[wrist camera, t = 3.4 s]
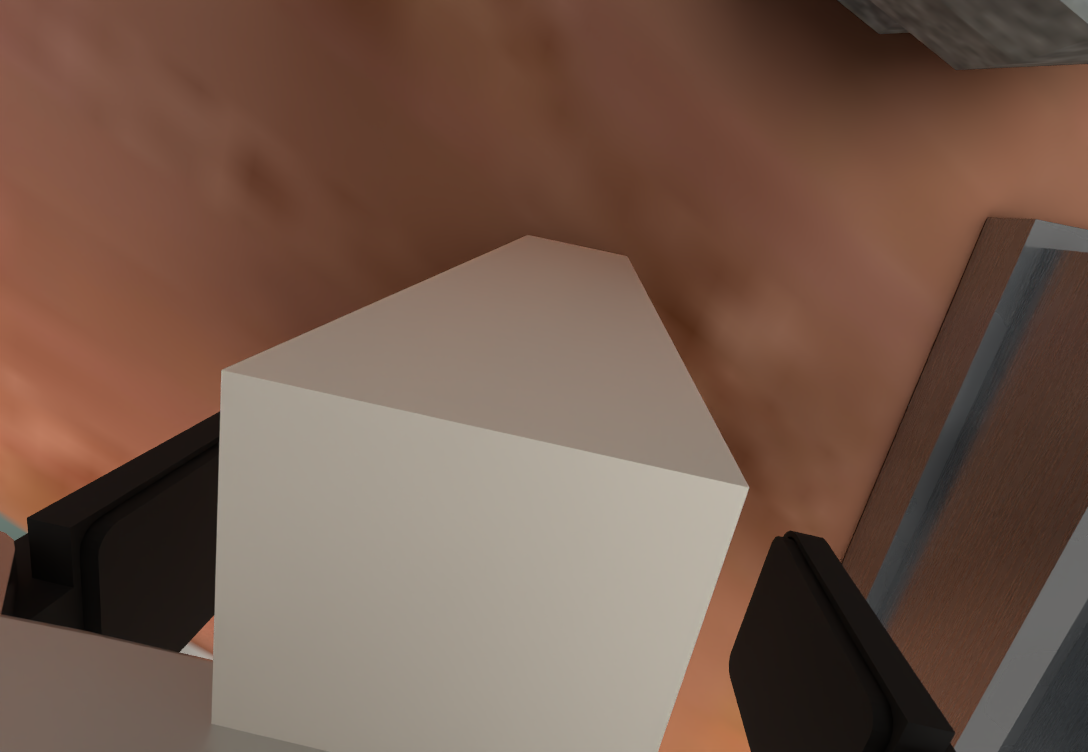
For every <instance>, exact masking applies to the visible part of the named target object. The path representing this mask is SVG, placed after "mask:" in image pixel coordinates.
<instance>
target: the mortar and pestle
mask: <svg viewBox="0 0 1088 752" xmlns="http://www.w3.org/2000/svg"><path fill="white" fill-rule="evenodd" d="M838 1H839V2H840V3H841V4H843V5H844V6H845V7H846V8H847V9H849V10H850V11H851V12H852V13H854V14H855V15H856V16H857V17H859V18H860V19H861V20H862V21H864V22H865V23H866V24H867V25H869V26H870V27H871V28H872V29H874V30H875V31H876V32H877V33H879V34H891V33H911V34H912V35H913V36H914V37H916V38H917V39H918V40H919V41H921V42H922V43H923V44H924V45H926V46H927V47H928V48H929V49H930V50H932V51H933V52H934V53H935V54H937V55H938V56H939V57H940V58H942V59H943V60H944V61H945V62H947V63H948V64H949V65H950V66H951V67H953V68H954V69H955V70H966V69H987V68H1008V67H1030V66H1051V65H1072V64H1088V0H838Z"/></svg>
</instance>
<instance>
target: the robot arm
mask: <svg viewBox="0 0 1088 752" xmlns="http://www.w3.org/2000/svg"><path fill="white" fill-rule="evenodd" d="M219 438H220V412H218V413H216V414H215V415H213V416H211V417H209V418H207V419H205V420H204V421H202V422H200V423H198V424H196V425H195V426H193V427H191V428H189V429H187V430H186V431H184V432H182V433H180V434H178V435H176V436H175V437H173V438H171V439H169V440H167V441H166V442H164V443H162V444H160V445H158V446H157V447H155V448H153V449H151V450H149V451H147V452H146V453H144V454H142V455H140V456H138V457H137V458H135V459H133V460H131V461H129V462H127V463H126V464H124V465H122V466H120V467H118V468H117V469H115V470H113V471H111V472H109V473H108V474H106V475H104V476H102V477H100V478H98V479H97V480H95V481H93V482H91V483H89V484H88V485H86V486H84V487H82V488H80V489H79V490H77V491H75V492H73V493H71V494H69V495H68V496H66V497H64V498H62V499H60V500H59V501H57V502H55V503H53V504H51V505H49V506H48V507H46V508H44V509H42V510H40V511H39V512H37V513H35V514H33V515H31V516H30V517H28V518H27V524H28V533H27V534H26V535H24V536H22V537H21V538H19V539H17V540H15V541H14V540H13V539H12V538H11V537H9V536H8V535H7V534H6V533H4V532H1V531H0V752H329V751H324V750H320V749H316V748H312V747H308V746H303V745H299V744H295V743H291V742H286V741H282V740H278V739H274V738H269V737H265V736H261V735H257V734H252V733H248V732H244V731H240V730H235V729H231V728H227V727H223V726H219V725H214V724H211V717H212V683H213V660H210V659H205V658H201V657H197V656H192V655H188V654H183V653H179V652H180V651H181V650H182V649H183V648H184V647H185V646H186V645H187V644H188V642H189V641H190V640H191V639H192V638H193V637H194V636H195V635H196V634H197V633H198V632H199V631H200V630H201V629H202V627H203V626H204V625H205V624H206V623H207V622H208V621H209V620H210V619H211V618H212V617H213V616H214V613H215V578H216V543H217V508H218V473H219ZM729 673H730V678H731V682H732V685H733V689H734V693H735V696H736V700H737V703H738V707H739V710H740V714H741V718H742V721H743V725H744V728H745V732H746V736H747V739H748V743H749V746H750V750H751V752H956V751H955V749H954V748H953V746H952V745H951V743H950V742H951V740H952V739H953V737H954V735H955V731H954V730H953V728H952V727H951V726H950V724H949V723H948V721H947V720H946V718H945V717H944V715H943V714H942V712H941V711H940V709H939V708H938V706H937V705H936V703H935V702H934V700H933V699H932V697H931V696H930V694H929V693H928V691H927V690H926V688H925V687H924V686H923V684H922V683H921V681H920V680H919V678H918V677H917V675H916V674H915V672H914V671H913V669H912V668H911V666H910V665H909V663H908V662H907V660H906V659H905V657H904V656H903V654H902V653H901V651H900V650H899V648H898V647H897V646H896V644H895V643H894V641H893V640H892V638H891V637H890V635H889V634H888V632H887V631H886V629H885V628H884V626H883V625H882V623H881V622H880V620H879V619H878V617H877V616H876V614H875V613H874V611H873V610H872V608H871V607H870V605H869V604H868V603H867V601H866V600H865V598H864V597H863V595H862V594H861V592H860V591H859V589H858V588H857V586H856V585H855V583H854V582H853V580H852V579H851V577H850V576H849V574H848V573H847V571H846V570H845V568H844V567H843V565H842V564H841V563H840V561H839V560H838V558H837V557H836V555H835V554H834V552H833V551H832V549H831V548H830V546H829V545H828V543H827V542H826V541H825V540H824V539H823V538H821V537H816V536H812V535H807V534H803V533H798V532H794V531H788V532H787V533H786V534H785V535H784V536H783V537H780V536H777V537H775V539H774V540H773V542H772V544H771V546H770V549H769V552H768V555H767V557H766V560H765V563H764V565H763V568H762V571H761V573H760V576H759V579H758V581H757V584H756V587H755V589H754V592H753V595H752V598H751V600H750V603H749V606H748V608H747V611H746V614H745V616H744V619H743V622H742V624H741V627H740V630H739V632H738V635H737V638H736V641H735V643H734V646H733V649H732V651H731V655H730V660H729Z"/></svg>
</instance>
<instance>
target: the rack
mask: <svg viewBox="0 0 1088 752" xmlns="http://www.w3.org/2000/svg"><path fill="white" fill-rule="evenodd" d="M842 565H843V567H844V568H845V570H846V571H847V573H848V574H849V576H850V577H851V579H852V580H853V582H854V583H855V585H856V586H857V588H858V589H859V591H860V592H861V594H862V595H863V597H864V598H865V600H866V601H867V603H868V604H869V605H870V607H871V608H872V610H873V611H874V613H875V614H876V616H877V617H878V619H879V620H880V622H881V623H882V625H883V626H884V628H885V629H886V631H887V632H888V634H889V635H890V637H891V638H892V640H893V641H894V643H895V644H896V646H897V647H898V648H899V650H900V651H901V653H902V654H903V656H904V657H905V659H906V660H907V662H908V663H909V665H910V666H911V668H912V669H913V671H914V672H915V674H916V675H917V677H918V678H919V680H920V681H921V683H922V684H923V686H924V687H925V688H926V690H927V691H928V693H929V694H930V696H931V697H932V699H933V700H934V702H935V703H936V705H937V706H938V708H939V709H940V711H941V712H942V714H943V715H944V717H945V718H946V720H947V721H948V723H949V724H950V726H951V727H952V728H953V730H954V731H955V735H954V737H953V739H952V740H951V742H950V743H951V745H952V746H953V748H954V749H955V751H956V752H1088V230H1086V229H1081V228H1076V227H1071V226H1066V225H1061V224H1056V223H1052V222H1047V221H1042V220H1037V219H1016V218H989V217H988V218H987V221H986V223H985V226H984V228H983V230H982V233H981V235H980V237H979V240H978V242H977V244H976V247H975V249H974V252H973V254H972V256H971V259H970V261H969V263H968V266H967V268H966V271H965V273H964V275H963V278H962V280H961V282H960V285H959V287H958V290H957V292H956V294H955V297H954V299H953V301H952V304H951V306H950V309H949V311H948V313H947V316H946V318H945V320H944V323H943V325H942V328H941V330H940V332H939V335H938V337H937V339H936V342H935V344H934V347H933V349H932V351H931V354H930V356H929V358H928V361H927V363H926V366H925V368H924V370H923V373H922V375H921V377H920V380H919V382H918V385H917V387H916V389H915V392H914V394H913V396H912V399H911V401H910V404H909V406H908V408H907V411H906V413H905V415H904V418H903V420H902V423H901V425H900V427H899V430H898V432H897V434H896V437H895V439H894V442H893V444H892V446H891V449H890V451H889V453H888V456H887V458H886V461H885V463H884V465H883V468H882V470H881V472H880V475H879V477H878V480H877V482H876V484H875V487H874V489H873V491H872V494H871V496H870V498H869V501H868V503H867V506H866V508H865V510H864V513H863V515H862V517H861V520H860V522H859V525H858V527H857V529H856V532H855V534H854V536H853V539H852V541H851V544H850V546H849V548H848V551H847V553H846V555H845V558H844V560H843V563H842Z"/></svg>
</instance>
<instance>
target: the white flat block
mask: <svg viewBox="0 0 1088 752" xmlns="http://www.w3.org/2000/svg"><path fill="white" fill-rule="evenodd" d="M748 490H749V486H748V484H747V482H746V480H745V478H744V477H743V475H742V473H741V471H740V469H739V467H738V465H737V463H736V461H735V460H734V458H733V456H732V454H731V452H730V450H729V448H728V446H727V444H726V442H725V441H724V439H723V437H722V435H721V433H720V431H719V429H718V427H717V425H716V423H715V422H714V420H713V418H712V416H711V414H710V412H709V410H708V408H707V406H706V405H705V403H704V401H703V399H702V397H701V395H700V393H699V391H698V389H697V387H696V386H695V384H694V382H693V380H692V378H691V376H690V374H689V372H688V370H687V368H686V367H685V365H684V363H683V361H682V359H681V357H680V355H679V353H678V351H677V350H676V348H675V346H674V344H673V342H672V340H671V338H670V336H669V334H668V332H667V331H666V329H665V327H664V325H663V323H662V321H661V319H660V317H659V315H658V313H657V312H656V310H655V308H654V306H653V304H652V302H651V300H650V298H649V296H648V295H647V293H646V291H645V289H644V287H643V285H642V283H641V281H640V279H639V277H638V276H637V274H636V272H635V270H634V268H633V266H632V264H631V262H630V260H629V258H628V257H627V256H625V255H620V254H615V253H611V252H606V251H601V250H596V249H592V248H587V247H582V246H578V245H573V244H568V243H563V242H559V241H554V240H549V239H545V238H540V237H535V236H530V235H526V236H524V237H522V238H519V239H517V240H515V241H513V242H510V243H508V244H506V245H504V246H501V247H499V248H497V249H495V250H492V251H490V252H488V253H485V254H483V255H481V256H479V257H476V258H474V259H472V260H470V261H467V262H465V263H463V264H461V265H458V266H456V267H454V268H451V269H449V270H447V271H445V272H442V273H440V274H438V275H436V276H433V277H431V278H429V279H427V280H424V281H422V282H420V283H417V284H415V285H413V286H411V287H408V288H406V289H404V290H402V291H399V292H397V293H395V294H393V295H390V296H388V297H386V298H383V299H381V300H379V301H377V302H374V303H372V304H370V305H368V306H365V307H363V308H361V309H359V310H356V311H354V312H352V313H349V314H347V315H345V316H343V317H340V318H338V319H336V320H334V321H331V322H329V323H327V324H325V325H322V326H320V327H318V328H315V329H313V330H311V331H309V332H306V333H304V334H302V335H300V336H297V337H295V338H293V339H291V340H288V341H286V342H284V343H281V344H279V345H277V346H275V347H272V348H270V349H268V350H266V351H263V352H261V353H259V354H257V355H254V356H252V357H250V358H247V359H245V360H243V361H241V362H238V363H236V364H234V365H232V366H229V367H227V368H225V369H223V370H221V403H220V438H219V473H218V508H217V543H216V578H215V613H214V648H213V683H212V717H211V724H214V725H219V726H223V727H227V728H231V729H235V730H240V731H244V732H248V733H252V734H257V735H261V736H265V737H269V738H274V739H278V740H282V741H286V742H291V743H295V744H299V745H303V746H308V747H312V748H316V749H320V750H324V751H329V752H658V750H659V747H660V744H661V741H662V738H663V735H664V732H665V730H666V727H667V724H668V721H669V718H670V715H671V712H672V709H673V706H674V704H675V701H676V698H677V695H678V692H679V689H680V686H681V683H682V681H683V678H684V675H685V672H686V669H687V666H688V663H689V660H690V657H691V655H692V652H693V649H694V646H695V643H696V640H697V637H698V634H699V631H700V629H701V626H702V623H703V620H704V617H705V614H706V611H707V608H708V605H709V603H710V600H711V597H712V594H713V591H714V588H715V585H716V582H717V579H718V577H719V574H720V571H721V568H722V565H723V562H724V559H725V556H726V554H727V551H728V548H729V545H730V542H731V539H732V536H733V533H734V530H735V528H736V525H737V522H738V519H739V516H740V513H741V510H742V507H743V504H744V502H745V499H746V496H747V493H748Z"/></svg>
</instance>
